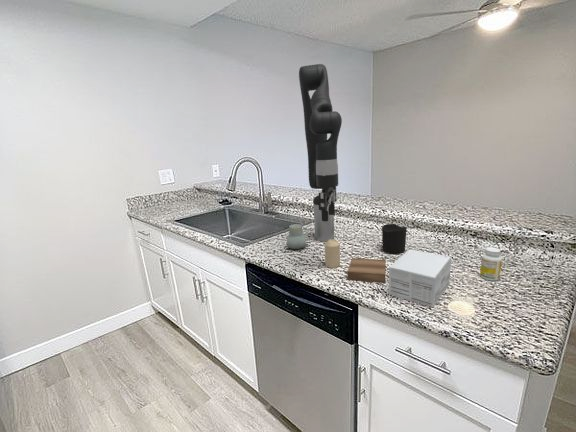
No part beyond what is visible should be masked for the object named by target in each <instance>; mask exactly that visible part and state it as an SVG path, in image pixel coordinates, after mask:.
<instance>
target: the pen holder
mask: <svg viewBox="0 0 576 432" xmlns="http://www.w3.org/2000/svg"><path fill="white" fill-rule="evenodd" d="M407 231H408V229H407V226H399V225H397V224H394V223H387V224H384V225H382V227H381V233H382V234H381V236H382V237H381V239H382V240H381V241H382V242H381V245H382V250H383V252H384V253H387V254H390V255H391V254H392V255H400V254H404V252H405V251H406V241H407V239H406V238H407Z"/></svg>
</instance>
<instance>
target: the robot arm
mask: <svg viewBox="0 0 576 432" xmlns="http://www.w3.org/2000/svg"><path fill="white" fill-rule="evenodd" d="M298 80H299V87H300V88H299V89H300V94H301V100H302V109H303V120H304V121H303V122H304V132H305V134H304V135H305V142H306V151H307V163H308V165H307V166H308V167H307V168H308V183H309V186H310V188H311V189H312V190H321V192H318V194H317V195H316V196H314V197H313V199H312V201H313V203H312V204H313V205H312V206H313V224H314V239H316V240H315V241H317V240H318V242H327V241H329V240H330V239H332V240H334V239H335V214H336V209H335V206H336V203H337V200H338V199H337V187H338V186H339V164H338V147H337V146H338V140H339V135H340V131H341V127H342V122H343V119H342V116H341V114H340V113H339V112H338V111H334V110H333V105H332V101H331V98H330V86H329V75H328V69H327V67H326V65H325V64H323V63H319V64H318V63H317V64H311V65H310V64H309V65H303V66H300V67H299V69H298ZM310 91H311V92H312V91H314V92H313V94H312V96H311V95H310ZM328 134H329V135H330V136H329V138H328Z"/></svg>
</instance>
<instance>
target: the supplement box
mask: <svg viewBox="0 0 576 432" xmlns="http://www.w3.org/2000/svg"><path fill="white" fill-rule="evenodd" d="M451 266H452V256H449V255H443V254H437V253H431V252H426V251H421V250H416V249H408V250H407V251H406V252H405V253H402V255H401V256H400V257H399V258H398V259H396V261H394V262H393V263H392V264H391V265H390V266H388V295H390V296H392V297H395V298H396V297H397V298H399V299H403V300H407V301H411V302H413V303H417V304H421V305H424V306H427V307H430V308H434V307H435V305H436V304H437V302H439V300H440V298H441V296H442V295H443V294H444V292H445V291H446V290H447V288H448V287H449V285H450V283H451V281H450V280H451V271H452V270H451V268H452V267H451Z"/></svg>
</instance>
